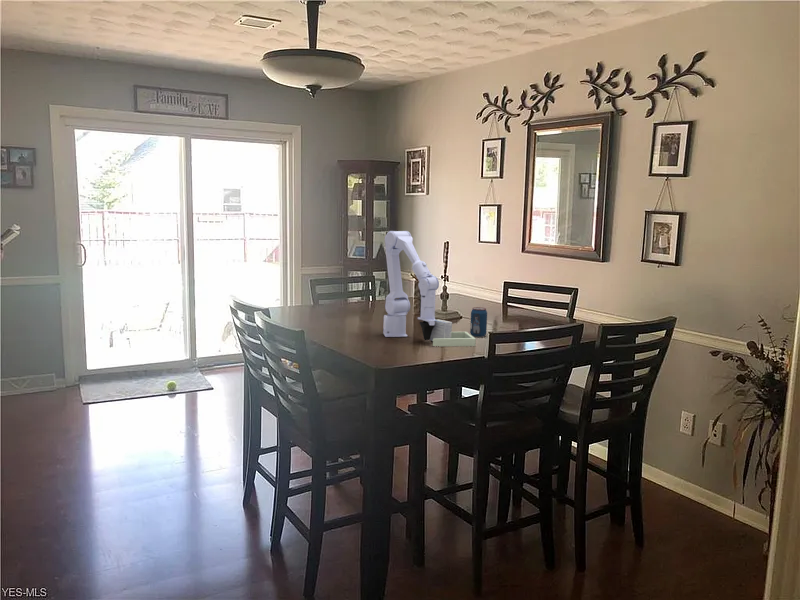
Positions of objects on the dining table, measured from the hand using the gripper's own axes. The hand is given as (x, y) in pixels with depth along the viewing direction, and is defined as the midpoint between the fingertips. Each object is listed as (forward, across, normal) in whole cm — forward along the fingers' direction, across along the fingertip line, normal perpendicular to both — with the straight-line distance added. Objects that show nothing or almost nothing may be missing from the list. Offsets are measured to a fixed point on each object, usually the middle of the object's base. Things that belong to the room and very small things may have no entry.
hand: (426, 339), depth 256 cm
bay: (+1, +1, +9) cm, 9 cm away
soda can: (+1, -12, +26) cm, 28 cm away
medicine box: (+1, 0, +6) cm, 6 cm away
